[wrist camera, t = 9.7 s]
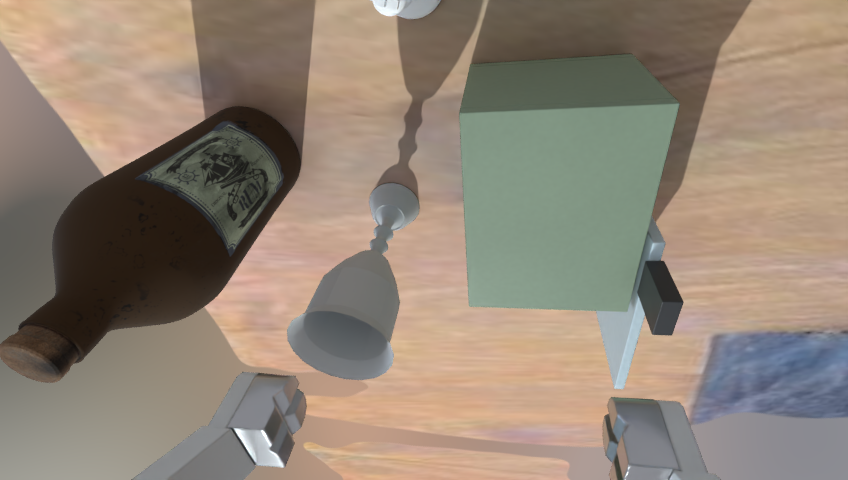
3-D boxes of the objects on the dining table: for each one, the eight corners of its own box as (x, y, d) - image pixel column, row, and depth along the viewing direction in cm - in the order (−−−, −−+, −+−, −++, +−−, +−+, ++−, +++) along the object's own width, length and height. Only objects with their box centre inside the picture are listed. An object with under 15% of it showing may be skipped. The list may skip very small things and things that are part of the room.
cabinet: (632, 53, 32) (680, 102, 23) (601, 230, 41) (627, 312, 33) (469, 64, 34) (459, 112, 25) (475, 230, 43) (468, 306, 35)
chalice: (352, 218, 45) (281, 359, 30) (367, 163, 41) (293, 296, 26) (418, 242, 45) (379, 391, 31) (439, 190, 41) (406, 334, 27)
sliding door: (631, 168, 37) (690, 283, 25) (603, 303, 46) (637, 433, 34) (616, 169, 37) (668, 283, 25) (591, 303, 46) (621, 431, 35)
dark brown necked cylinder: (263, 216, 46) (83, 440, 26) (180, 141, 42) (-108, 337, 22) (329, 165, 41) (168, 393, 21) (242, 74, 37) (-57, 250, 17)
